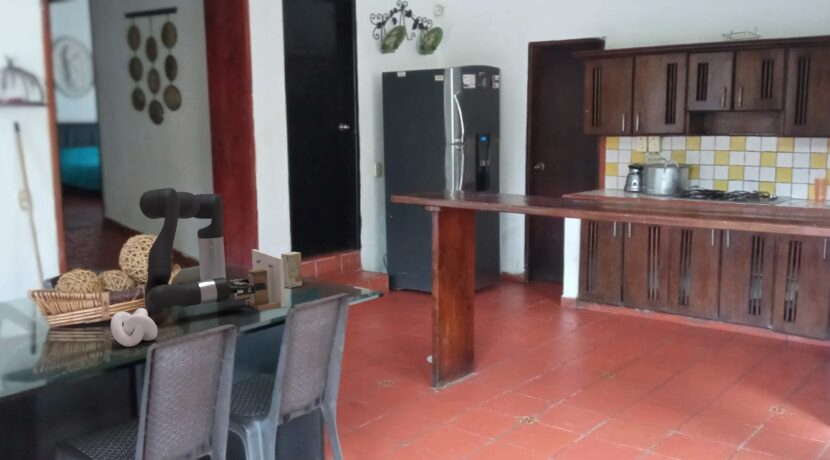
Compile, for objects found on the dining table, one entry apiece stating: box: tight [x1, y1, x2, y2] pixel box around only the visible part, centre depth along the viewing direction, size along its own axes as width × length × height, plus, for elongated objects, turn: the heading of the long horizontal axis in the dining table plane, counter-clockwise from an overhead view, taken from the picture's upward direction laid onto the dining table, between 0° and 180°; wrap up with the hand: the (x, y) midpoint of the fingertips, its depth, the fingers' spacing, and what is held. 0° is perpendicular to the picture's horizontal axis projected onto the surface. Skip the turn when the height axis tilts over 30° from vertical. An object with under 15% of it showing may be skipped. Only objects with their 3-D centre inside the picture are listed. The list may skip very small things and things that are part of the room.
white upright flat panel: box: [234, 248, 286, 312], centre depth 255 cm, size 22×9×16 cm, turn 35°
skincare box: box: [280, 251, 303, 289], centre depth 279 cm, size 6×4×12 cm
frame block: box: [247, 269, 270, 310], centre depth 251 cm, size 4×5×12 cm
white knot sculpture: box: [110, 307, 159, 348], centre depth 215 cm, size 11×12×9 cm
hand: (259, 283), depth 251 cm, fingers open, 8 cm apart
